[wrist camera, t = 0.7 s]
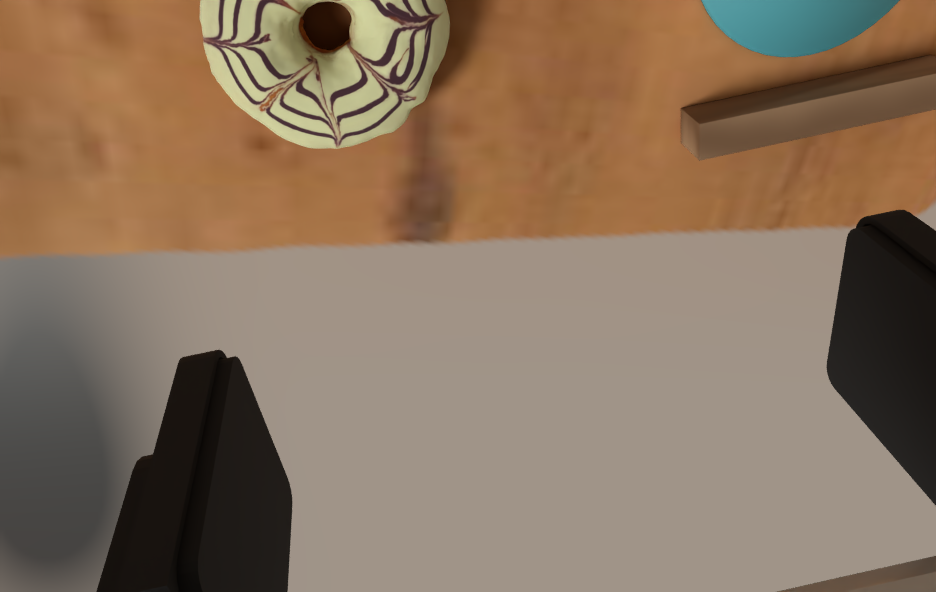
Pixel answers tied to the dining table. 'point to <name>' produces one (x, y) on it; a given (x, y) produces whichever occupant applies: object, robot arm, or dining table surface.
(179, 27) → the dining table surface
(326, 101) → the decorated donut
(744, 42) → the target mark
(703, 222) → the dining table surface
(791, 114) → the rail
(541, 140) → the dining table surface
